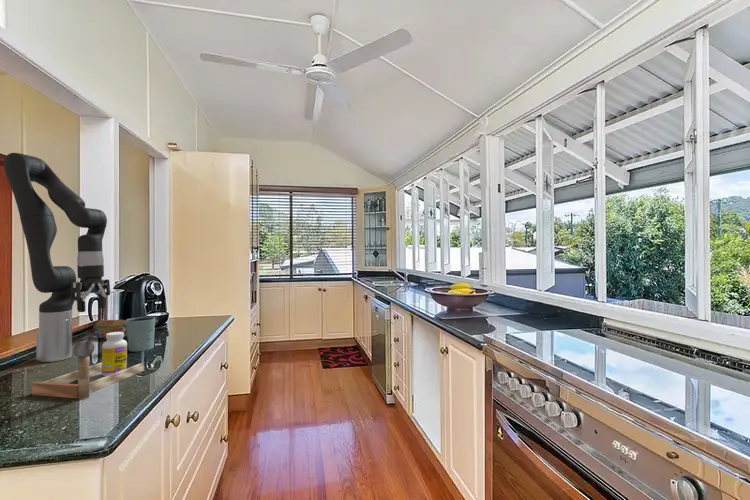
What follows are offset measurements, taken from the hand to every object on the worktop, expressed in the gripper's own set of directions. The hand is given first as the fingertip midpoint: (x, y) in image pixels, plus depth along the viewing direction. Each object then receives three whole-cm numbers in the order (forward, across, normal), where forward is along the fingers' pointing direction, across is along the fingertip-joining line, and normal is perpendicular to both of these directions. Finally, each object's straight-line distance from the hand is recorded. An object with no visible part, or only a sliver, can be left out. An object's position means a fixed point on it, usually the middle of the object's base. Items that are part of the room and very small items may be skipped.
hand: (91, 310), depth 137 cm
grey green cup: (+18, -17, +5) cm, 26 cm away
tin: (+17, -33, -20) cm, 42 cm away
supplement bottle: (+19, +12, +18) cm, 29 cm away
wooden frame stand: (+19, +21, +20) cm, 35 cm away
